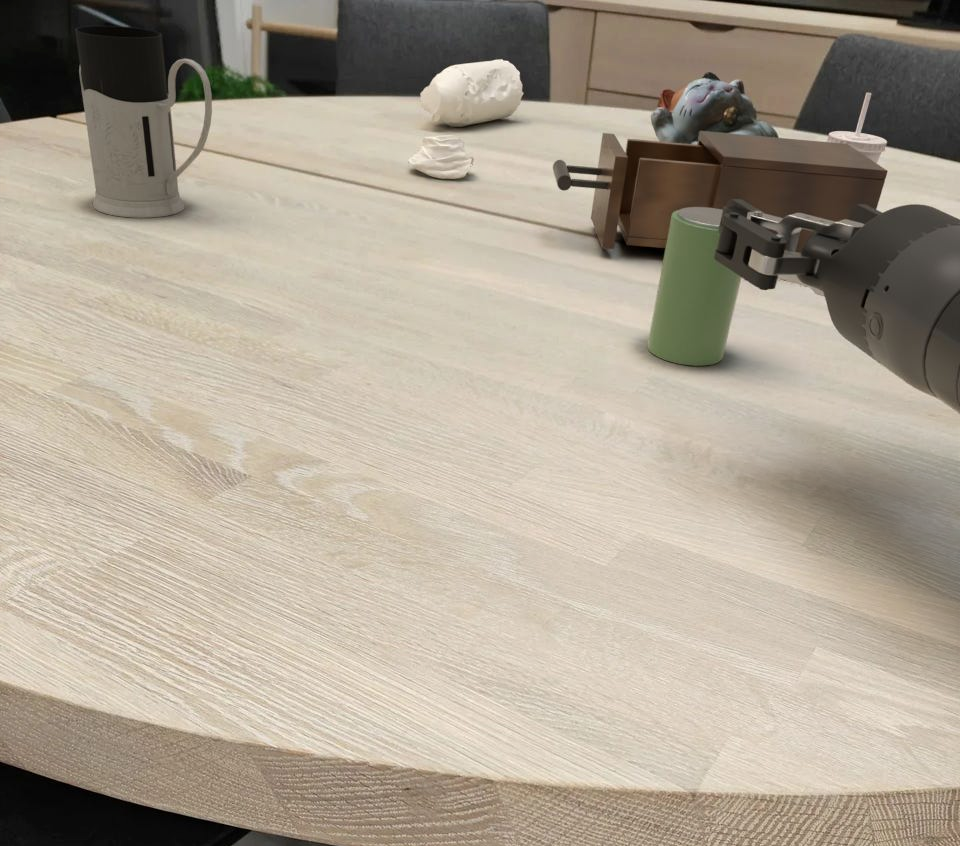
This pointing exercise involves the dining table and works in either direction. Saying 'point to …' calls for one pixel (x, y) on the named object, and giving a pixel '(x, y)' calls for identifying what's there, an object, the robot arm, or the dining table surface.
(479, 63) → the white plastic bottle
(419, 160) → the whipped cream
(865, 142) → the smoothie
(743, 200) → the robot arm
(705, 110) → the lucky cat figurine
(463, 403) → the dining table surface
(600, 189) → the drawer
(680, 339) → the can
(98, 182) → the glass holder
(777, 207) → the cabinet
